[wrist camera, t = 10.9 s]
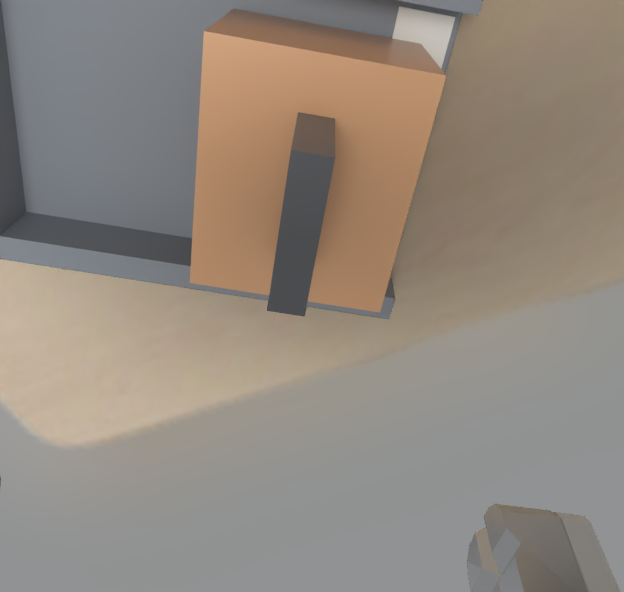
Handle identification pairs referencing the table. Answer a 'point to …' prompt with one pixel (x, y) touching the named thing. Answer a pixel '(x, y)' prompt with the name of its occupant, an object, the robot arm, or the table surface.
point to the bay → (137, 123)
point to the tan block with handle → (307, 159)
